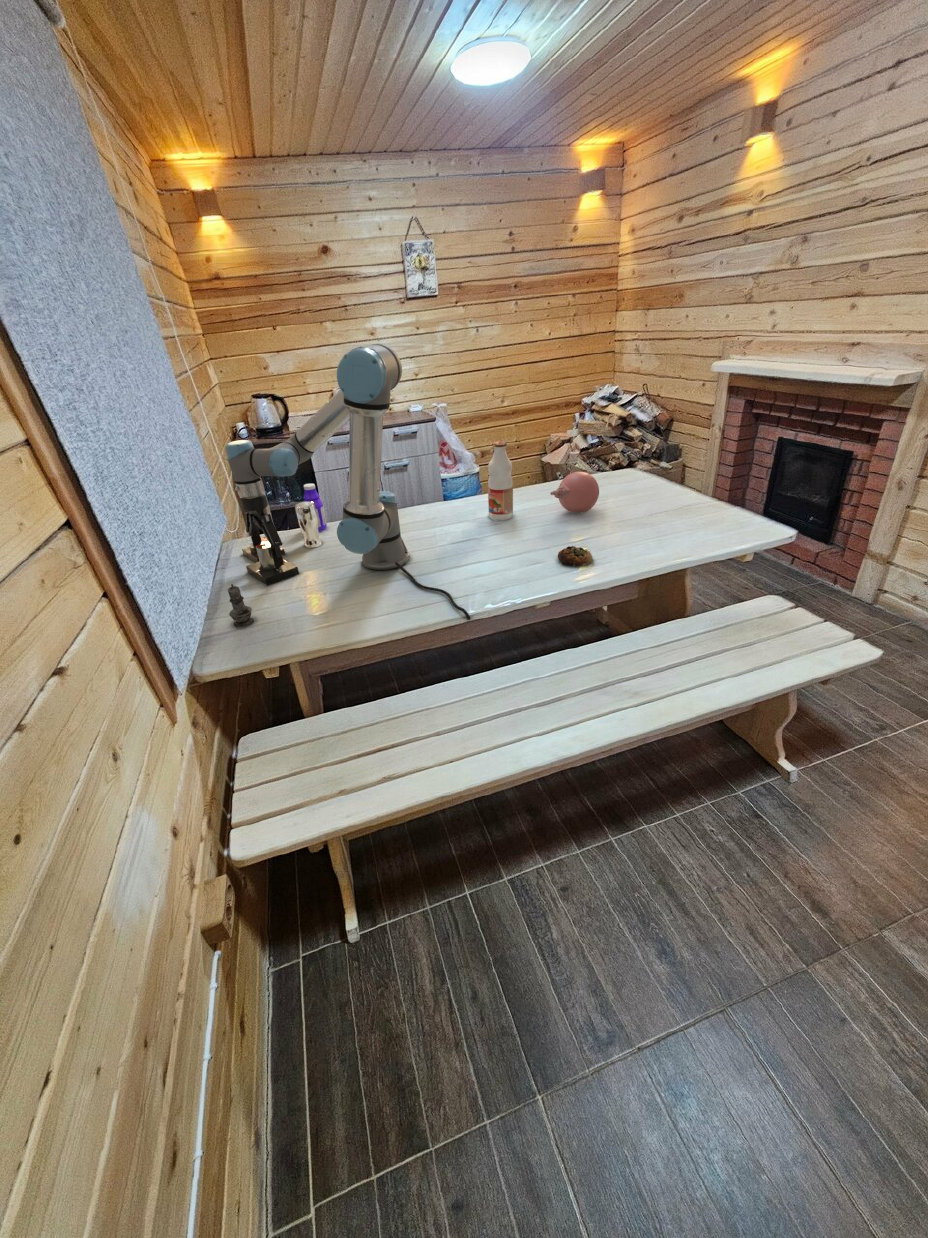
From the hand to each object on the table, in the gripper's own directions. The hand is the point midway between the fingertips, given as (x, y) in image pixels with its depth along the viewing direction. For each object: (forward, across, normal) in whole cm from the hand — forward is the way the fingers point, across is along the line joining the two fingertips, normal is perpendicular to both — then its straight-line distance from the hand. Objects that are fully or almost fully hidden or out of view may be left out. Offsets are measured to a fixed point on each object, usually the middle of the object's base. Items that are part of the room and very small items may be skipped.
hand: (269, 559), depth 166 cm
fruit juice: (+5, +23, +84) cm, 87 cm away
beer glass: (+5, -11, +21) cm, 24 cm away
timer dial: (+2, 0, 0) cm, 2 cm away
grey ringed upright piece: (+5, +23, -20) cm, 31 cm away
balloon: (+5, +42, +104) cm, 112 cm away
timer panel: (+5, 0, 0) cm, 5 cm away
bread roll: (+5, +68, +70) cm, 98 cm away
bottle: (+5, -23, +30) cm, 38 cm away
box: (+5, -17, +5) cm, 18 cm away
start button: (+1, -17, +5) cm, 18 cm away
